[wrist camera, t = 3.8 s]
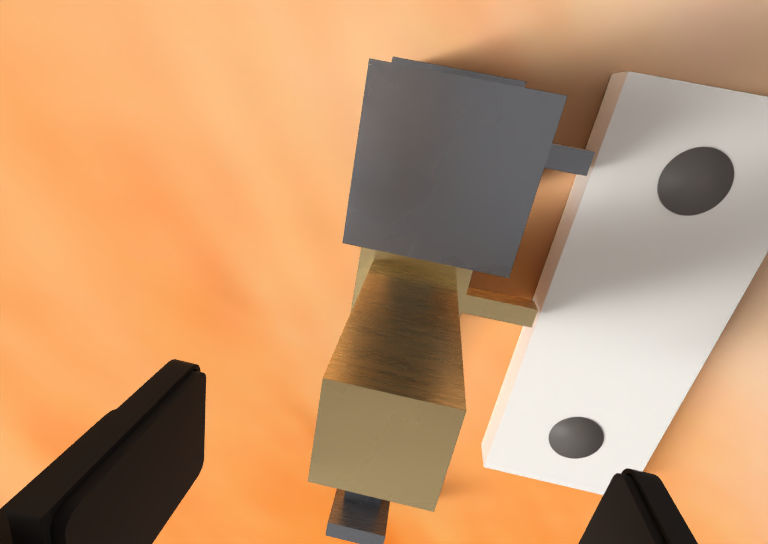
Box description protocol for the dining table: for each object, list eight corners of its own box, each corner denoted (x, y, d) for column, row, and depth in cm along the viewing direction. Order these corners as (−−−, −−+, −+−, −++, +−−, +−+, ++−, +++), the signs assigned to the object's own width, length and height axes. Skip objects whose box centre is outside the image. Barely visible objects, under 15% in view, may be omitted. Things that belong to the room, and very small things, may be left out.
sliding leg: (370, 228, 17) (301, 352, 9) (547, 264, 17) (650, 431, 8) (355, 315, 18) (285, 491, 10) (516, 350, 18) (577, 562, 10)
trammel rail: (403, 65, 16) (341, 14, 6) (588, 100, 16) (830, 105, 6) (330, 485, 25) (256, 739, 15) (447, 513, 25) (451, 792, 15)
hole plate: (612, 73, 15) (629, 70, 14) (810, 110, 15) (849, 111, 14) (481, 444, 23) (483, 468, 21) (614, 475, 22) (626, 501, 21)
